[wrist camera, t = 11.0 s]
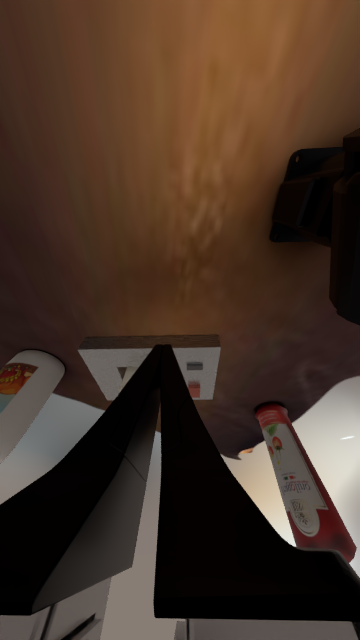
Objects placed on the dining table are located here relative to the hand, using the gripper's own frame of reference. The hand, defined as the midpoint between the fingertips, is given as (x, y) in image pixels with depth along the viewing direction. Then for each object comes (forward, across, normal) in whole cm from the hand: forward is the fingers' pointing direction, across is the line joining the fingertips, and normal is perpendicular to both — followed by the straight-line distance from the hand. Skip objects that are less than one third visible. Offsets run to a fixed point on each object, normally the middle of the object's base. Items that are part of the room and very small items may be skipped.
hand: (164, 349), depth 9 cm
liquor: (+12, -20, +33) cm, 40 cm away
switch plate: (+12, +4, +17) cm, 21 cm away
